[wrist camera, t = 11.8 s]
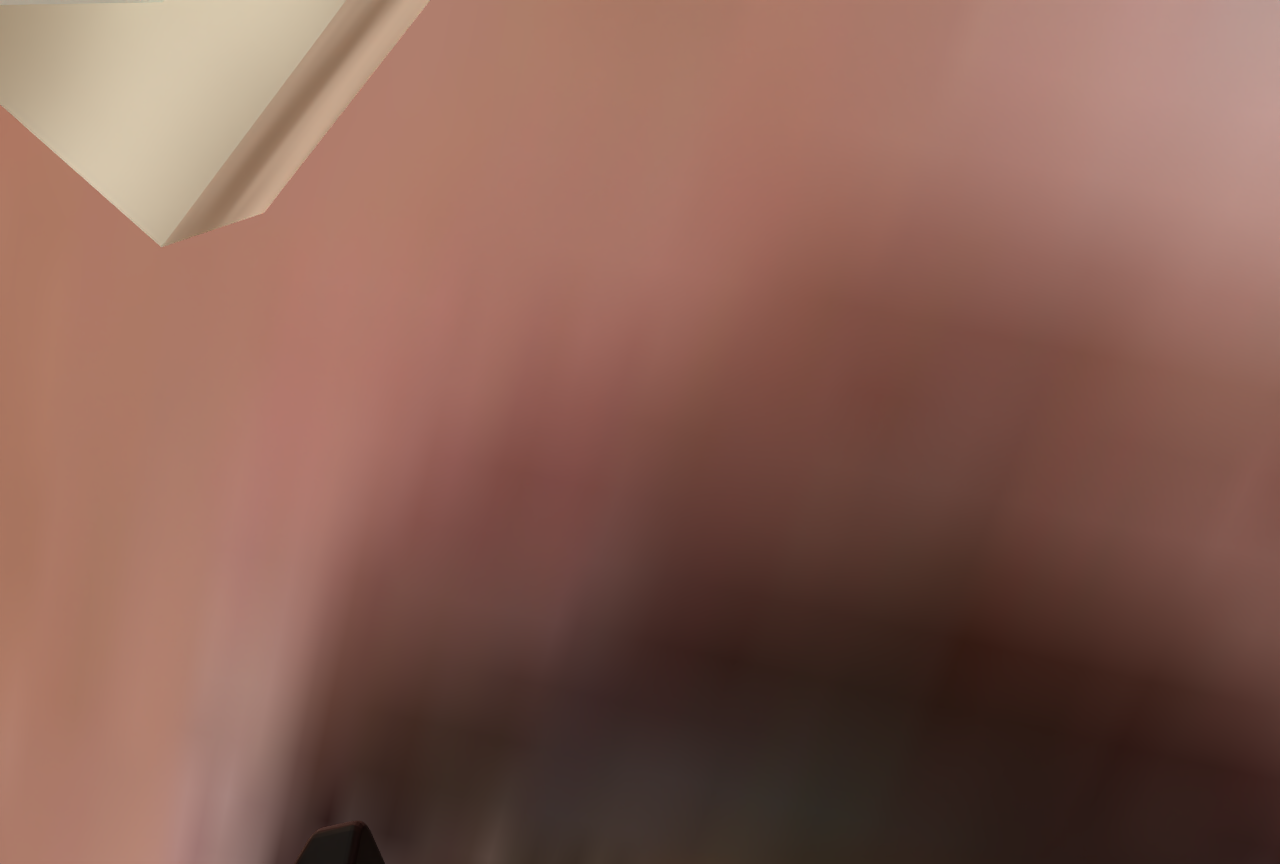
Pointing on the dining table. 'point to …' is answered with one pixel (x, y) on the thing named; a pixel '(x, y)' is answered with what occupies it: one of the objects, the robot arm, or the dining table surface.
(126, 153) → the maple block
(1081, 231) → the dining table surface
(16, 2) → the sage block
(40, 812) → the dining table surface
